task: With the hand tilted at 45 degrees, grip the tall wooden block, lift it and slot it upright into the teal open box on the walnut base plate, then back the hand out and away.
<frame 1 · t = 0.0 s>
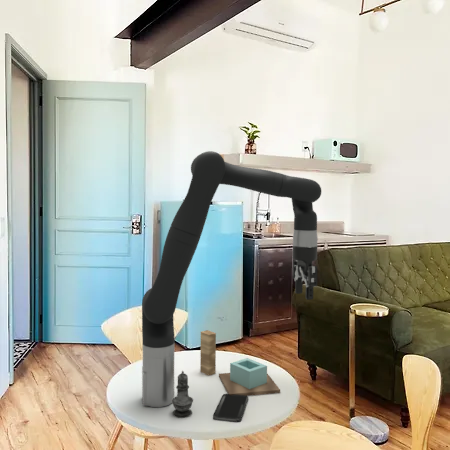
hand: (303, 296, 141), 29 cm above the table, tool pointing down, fingers open, 8 cm apart
tall wooden block: (207, 372, 154), on the table
base plate: (248, 384, 145), on the table
teal open box: (248, 372, 144), on the base plate, point 4 cm above the table
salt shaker: (182, 413, 125), on the table
phone: (231, 410, 128), on the table
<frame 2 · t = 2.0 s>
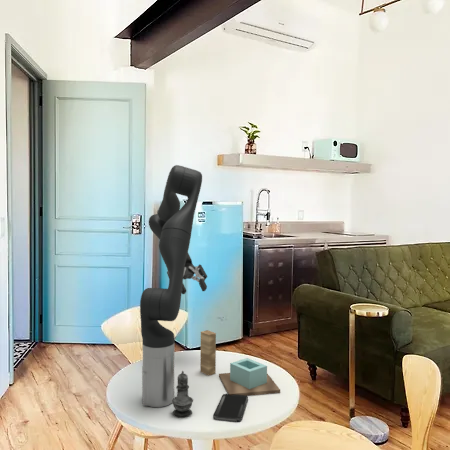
hand: (195, 291, 159), 27 cm above the table, tool tilted 45°, fingers open, 8 cm apart
nothing on the table moved.
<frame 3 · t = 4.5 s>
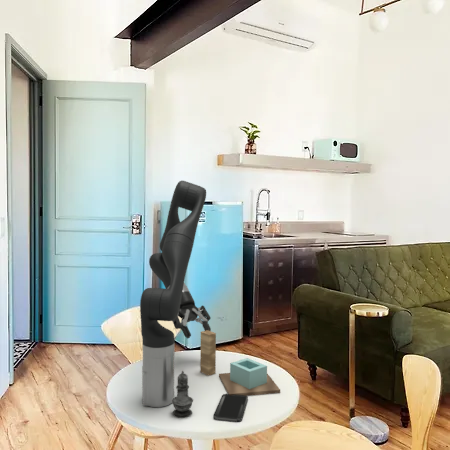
hand: (199, 334, 157), 12 cm above the table, tool tilted 45°, fingers open, 8 cm apart
nothing on the table moved.
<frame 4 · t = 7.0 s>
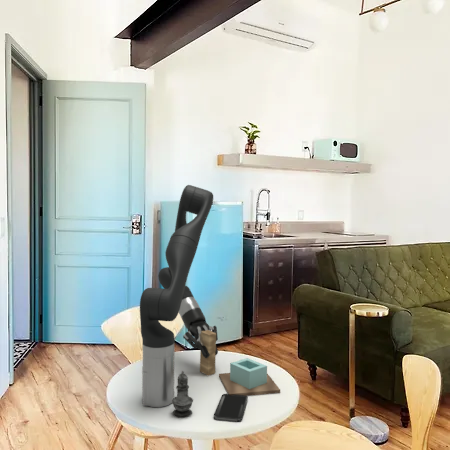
hand: (211, 355, 152), 7 cm above the table, tool tilted 45°, fingers closed on tall wooden block, 3 cm apart
tall wooden block: (207, 372, 154), on the table, touching gripper
everything else where it was.
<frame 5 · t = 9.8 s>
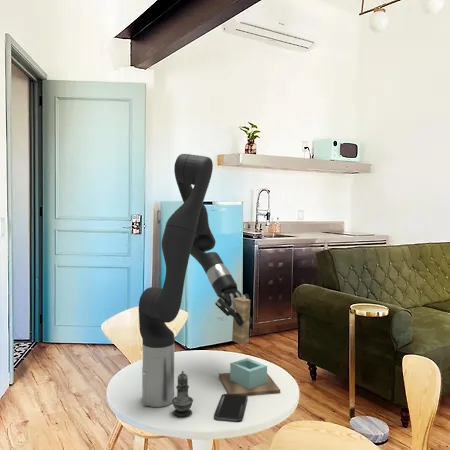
hand: (245, 323, 144), 20 cm above the table, tool tilted 45°, fingers closed on tall wooden block, 3 cm apart
tall wooden block: (240, 341, 146), point 13 cm above the table, touching gripper
everything else where it was.
when the fingers open (9 cm above the table, at t = 12.9 s): tall wooden block stays where it is, resting on teal open box.
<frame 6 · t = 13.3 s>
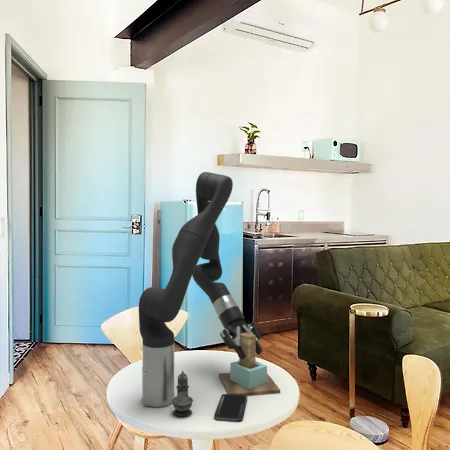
hand: (252, 355, 143), 10 cm above the table, tool tilted 45°, fingers open, 6 cm apart
tall wooden block: (247, 377, 145), point 2 cm above the table, touching teal open box
everything else where it was.
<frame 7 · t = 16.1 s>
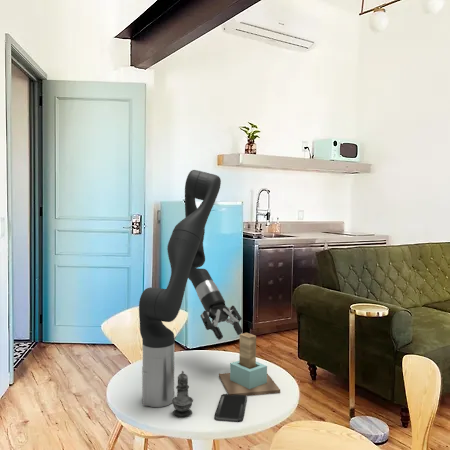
hand: (230, 336, 150), 14 cm above the table, tool tilted 45°, fingers open, 8 cm apart
nothing on the table moved.
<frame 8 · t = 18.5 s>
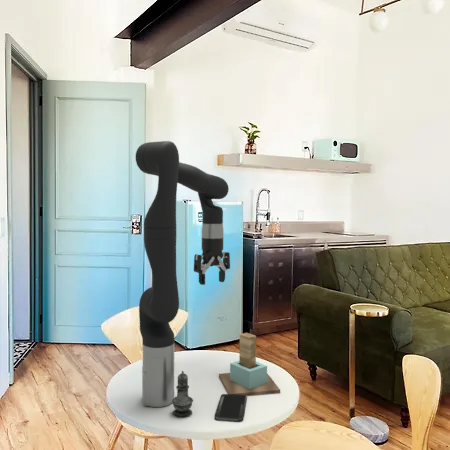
hand: (212, 283, 157), 30 cm above the table, tool pointing down, fingers open, 8 cm apart
nothing on the table moved.
at the end: tall wooden block 0.4 cm off-centre on the teal open box, point 2.0 cm above the teal open box's base; tall wooden block tilted 0°; the gripper is holding nothing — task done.
